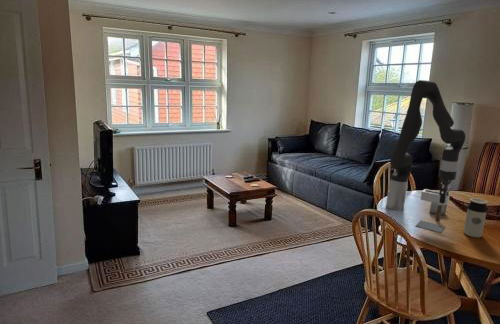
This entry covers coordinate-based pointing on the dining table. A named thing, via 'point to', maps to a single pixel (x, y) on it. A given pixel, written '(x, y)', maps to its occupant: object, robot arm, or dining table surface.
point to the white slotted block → (433, 196)
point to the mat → (430, 226)
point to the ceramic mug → (435, 205)
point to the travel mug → (475, 217)
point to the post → (438, 212)
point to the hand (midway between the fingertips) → (443, 201)
